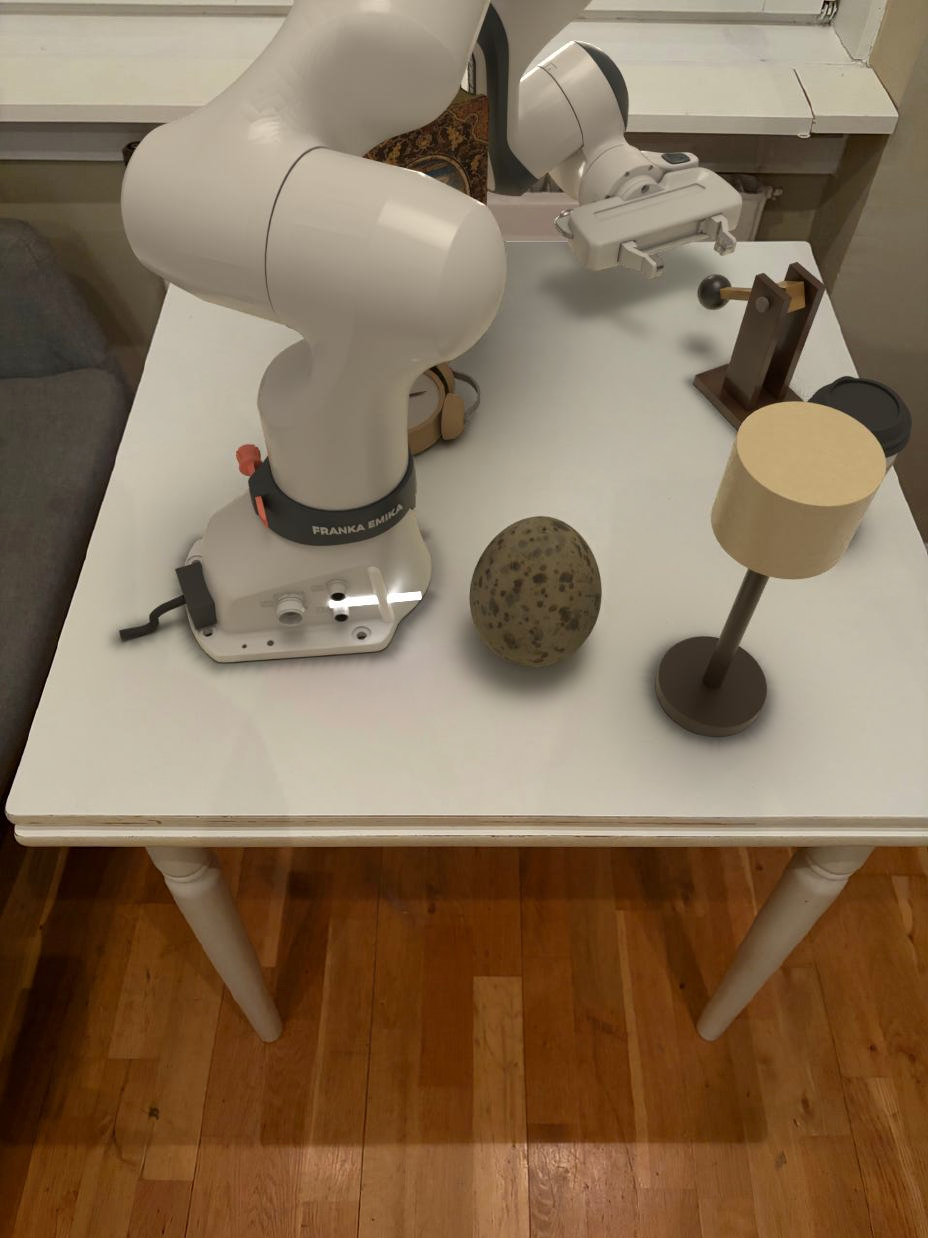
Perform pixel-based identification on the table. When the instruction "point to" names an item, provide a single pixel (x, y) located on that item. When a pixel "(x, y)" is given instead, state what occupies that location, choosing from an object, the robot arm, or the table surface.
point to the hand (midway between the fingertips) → (694, 259)
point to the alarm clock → (437, 407)
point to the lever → (742, 292)
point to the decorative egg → (536, 592)
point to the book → (447, 146)
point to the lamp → (771, 546)
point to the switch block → (764, 349)
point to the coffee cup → (870, 411)
